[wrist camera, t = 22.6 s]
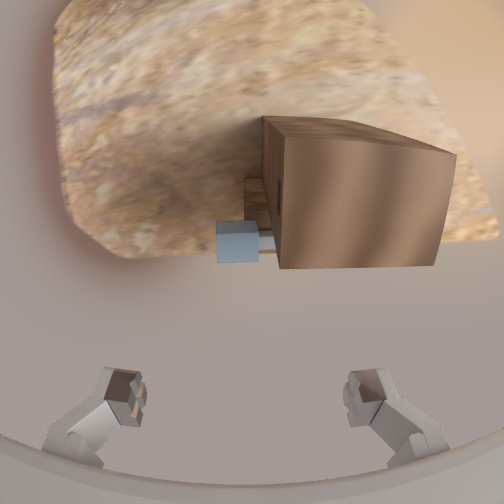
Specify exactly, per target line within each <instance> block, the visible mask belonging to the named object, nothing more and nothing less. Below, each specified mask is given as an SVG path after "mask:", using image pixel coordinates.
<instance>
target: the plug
mask: <svg viewBox="0 0 504 504" xmlns="http://www.w3.org/2000/svg"><path fill="white" fill-rule="evenodd" d="M216 243H217V263H235V262H236V263H237V262H258V261H259V257H258V256H259V250H271V249H276V247H275V241H274V236H273V231H258V227H257V224H256V220H245V221H217V222H216Z"/></svg>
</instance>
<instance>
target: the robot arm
mask: <svg viewBox="0 0 504 504" xmlns="http://www.w3.org/2000/svg"><path fill="white" fill-rule="evenodd" d="M141 380H142V375H141V373H140V372H139V371H131V370H124V369H117V368H110V367H104V368H103V369H102V371H101V374H100V376H99V378H98V381H97V383H96V386H95V389H94V392H93V394H92V397H88V398H87V399H85V400H84V401H82V402H81V403H80V404H78V405H77V406H76V407H74V408H73V409H72V410H71V411H69V412H68V413H67V414H65V415H64V416H63V417H61V418H60V419H59V420H57V421H56V422H55V423H53V424H52V425H51V426H50V428H49V430H48V433H47V435H46V438H45V441H44V443H43V446H42V449H41V450H38V449H36V448H33V447H30V446H28V445H25V444H23V443H20V442H18V441H15V440H13V439H10V438H8V437H6V436H4V435H1V434H0V504H504V428H502V429H500V430H497V431H495V432H493V433H491V434H489V435H486V436H484V437H482V438H479V439H477V440H475V441H472V442H470V443H467V444H465V445H462V446H459V447H457V448H454V449H451V450H450V448H449V445H448V443H447V440H446V438H445V435H444V433H443V430H442V428H441V426H440V425H438V424H437V423H436V422H435V421H433V420H432V419H431V418H429V417H428V416H426V415H425V414H424V413H422V412H421V411H420V410H418V409H417V408H416V407H414V406H413V405H412V404H410V403H409V402H408V401H406V400H405V399H404V398H402V397H401V398H399V396H398V394H397V392H396V389H395V386H394V384H393V382H392V380H391V377H390V375H389V372H388V370H387V369H386V368H378V369H368V370H360V371H351V372H350V373H349V375H348V380H349V381H348V382H347V383H346V384H345V386H344V389H343V400H344V405H345V406H346V407H347V408H348V409H349V411H348V413H347V416H348V420H349V424H350V427H357V426H366V425H370V427H371V428H372V429H373V430H374V431H375V432H376V433H377V434H378V435H379V436H380V437H381V438H382V439H383V440H384V441H385V442H386V443H387V444H388V445H389V446H390V447H391V448H392V449H393V450H394V451H395V452H396V453H395V454H394V456H393V457H392V458H391V459H390V460H389V461H388V463H387V465H388V468H387V469H383V470H378V471H373V472H368V473H363V474H358V475H353V476H347V477H340V478H333V479H326V480H318V481H309V482H298V483H285V484H265V485H225V484H204V483H191V482H180V481H171V480H163V479H156V478H149V477H143V476H136V475H131V474H126V473H121V472H116V471H111V470H107V469H103V465H104V463H103V462H102V460H101V459H100V458H99V457H98V456H97V455H96V454H95V452H96V451H97V450H98V449H99V448H100V447H101V446H102V445H103V444H104V443H105V442H106V441H107V440H108V439H109V438H110V437H111V436H112V435H113V434H114V432H116V431H117V430H118V428H119V427H120V426H121V425H125V426H132V427H140V425H141V421H142V416H143V413H142V411H141V408H143V407H144V406H145V404H146V399H147V391H146V386H145V384H144V383H143V382H142V381H141Z"/></svg>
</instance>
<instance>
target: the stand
mask: <svg viewBox="0 0 504 504" xmlns="http://www.w3.org/2000/svg"><path fill="white" fill-rule="evenodd" d="M456 158H457V155H456V154H453V153H451V152H448V151H445V150H443V149H440V148H437V147H435V146H432V145H429V144H426V143H423V142H421V141H418V140H415V139H412V138H409V137H406V136H403V135H399V134H396V133H393V132H390V131H386V130H383V129H379V128H376V127H372V126H369V125H365V124H362V123H358V122H354V121H348V120H337V119H325V118H309V117H287V116H263V123H262V178H245V186H244V221H245V220H256V224H257V227H258V231H273V236H274V241H275V247H276V249H271V250H259V253H277V257H278V263H279V268H280V269H315V268H316V269H321V268H322V269H323V268H368V267H403V266H404V267H407V266H433V265H434V263H435V259H436V255H437V251H438V248H439V244H440V240H441V236H442V232H443V228H444V223H445V219H446V215H447V210H448V205H449V200H450V195H451V189H452V184H453V178H454V172H455V165H456Z"/></svg>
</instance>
